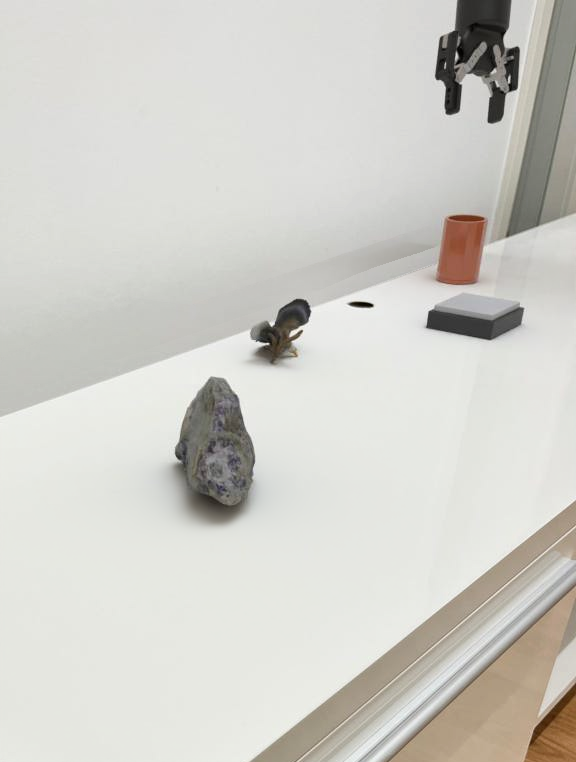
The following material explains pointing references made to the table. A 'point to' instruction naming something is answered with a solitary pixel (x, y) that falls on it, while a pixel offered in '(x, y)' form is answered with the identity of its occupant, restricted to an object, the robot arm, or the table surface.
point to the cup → (461, 249)
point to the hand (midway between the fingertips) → (473, 118)
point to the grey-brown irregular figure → (283, 328)
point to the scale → (475, 315)
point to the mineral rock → (216, 444)
